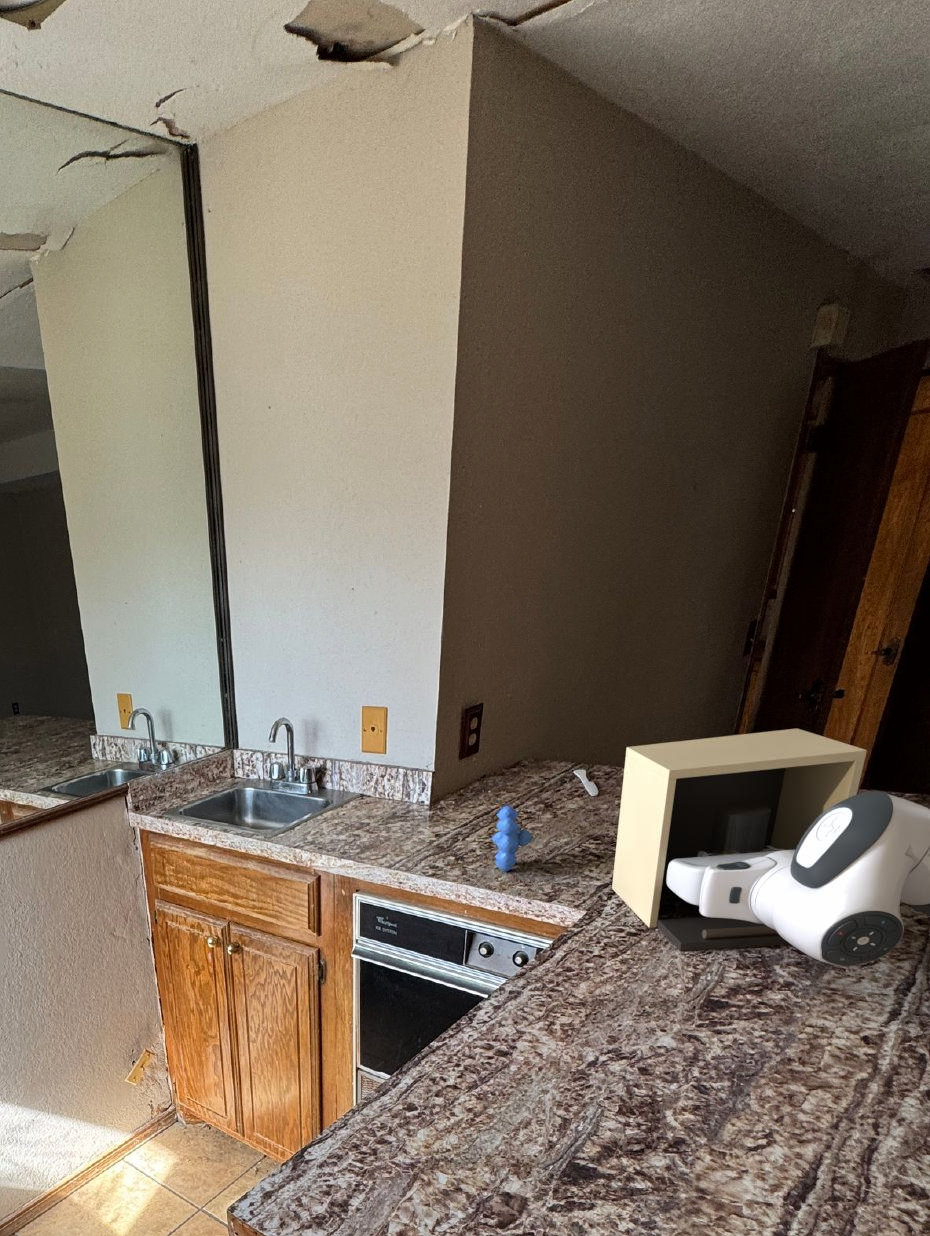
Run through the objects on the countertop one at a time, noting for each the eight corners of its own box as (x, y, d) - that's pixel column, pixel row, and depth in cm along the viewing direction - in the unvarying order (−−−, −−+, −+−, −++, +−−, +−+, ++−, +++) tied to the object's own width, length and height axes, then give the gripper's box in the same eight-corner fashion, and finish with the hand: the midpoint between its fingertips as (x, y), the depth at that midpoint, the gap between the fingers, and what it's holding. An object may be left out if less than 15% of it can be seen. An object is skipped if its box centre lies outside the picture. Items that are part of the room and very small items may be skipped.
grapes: (534, 881, 131) (538, 812, 126) (490, 882, 133) (493, 814, 128) (529, 859, 141) (533, 793, 135) (489, 860, 143) (491, 796, 138)
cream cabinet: (768, 877, 119) (797, 728, 109) (864, 940, 98) (910, 763, 88) (611, 888, 124) (626, 747, 114) (671, 951, 103) (695, 784, 93)
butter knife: (586, 769, 188) (573, 770, 189) (601, 794, 168) (586, 795, 169) (586, 770, 188) (572, 771, 189) (601, 796, 168) (586, 797, 169)
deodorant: (758, 919, 107) (779, 812, 101) (710, 922, 108) (728, 817, 102) (738, 903, 112) (757, 801, 106) (693, 906, 114) (708, 805, 107)
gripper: (889, 856, 92) (822, 824, 104) (696, 871, 96) (654, 838, 108) (876, 905, 95) (812, 868, 107) (689, 918, 99) (649, 881, 111)
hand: (731, 853), depth 108 cm, fingers closed on deodorant, 6 cm apart
